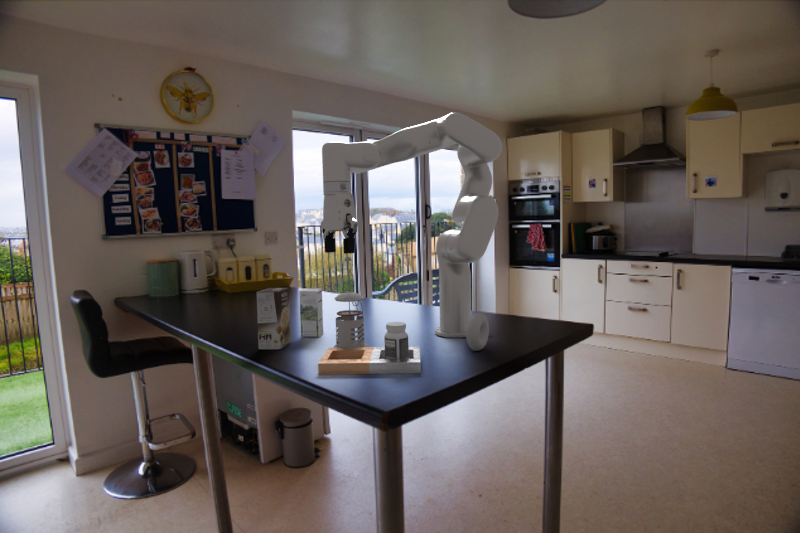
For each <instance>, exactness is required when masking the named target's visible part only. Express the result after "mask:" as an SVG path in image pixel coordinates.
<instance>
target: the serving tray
mask: <svg viewBox="0 0 800 533" xmlns="http://www.w3.org/2000/svg"><path fill="white" fill-rule="evenodd" d="M420 352H421V351H420V346H409V359H385V346H368V347H345V348H333V347H328V348H327V350H326V351H325V353H324V354H323V356H322V357H321V358H320V360H319V362H318V363H317V369H318V370H317V373H318V375H370V374H371V375H372V374H373V375H375V374H376V375H377V374H379V375H380V374H383V375H384V374H390V375H391V374H393V375H394V374H421V371H422V370H421V368H422V366H421V353H420Z"/></svg>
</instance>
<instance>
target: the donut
mask: <svg viewBox="0 0 800 533" xmlns="http://www.w3.org/2000/svg"><path fill="white" fill-rule="evenodd" d="M489 335H490V324H489V320H488V318H487V316H486V315H485V314H484V313H482V312H475V313H474V314H473V315H472V314H471V318H470V320H469V322H468V325H467V331H466V337H465V338H466V342H467V345H468V347H469V349H471V350H472V351H475V352H476V351H477V352H478V351H481V350H483V349H484V348H485V347H486V345H487V343H488V339H489Z"/></svg>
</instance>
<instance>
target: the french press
mask: <svg viewBox="0 0 800 533" xmlns="http://www.w3.org/2000/svg"><path fill="white" fill-rule="evenodd" d="M344 262H347V276H348V278H347V281H348V282H347V283H348V287H350V271H349V270H350V268H349V266H350V265H349V262H352V257H351V256H346V257H345V258H344ZM364 299H365V297H364V296H363V295H361V294H360V293H357V292H354V291H352V292H351V291H350V290H347V292H343V293H340V294H338V295H337V296H335V297H334V300H335V301H336V302H340V303H341V302H342V303H348V306H349V307H348V309H349V310H348V309H346V310H344V309H343V310H339V311H337V312H336V315H337V317H335V336H336V337H335V340H336V342H335V343H336V344H335V345H334V346H332V348H345V347H369V345H368V344H367V343H366V342H365V337H364V336H365V328H364V327H365V324H364V322H365V318H364V309H363V304H362V301H363V300H364ZM350 303H352V306H354V307H355V308H356V310H355V309H351V304H350ZM359 304H360V306H361V310H359V309H358V306H359ZM355 318H356V319H355Z"/></svg>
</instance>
